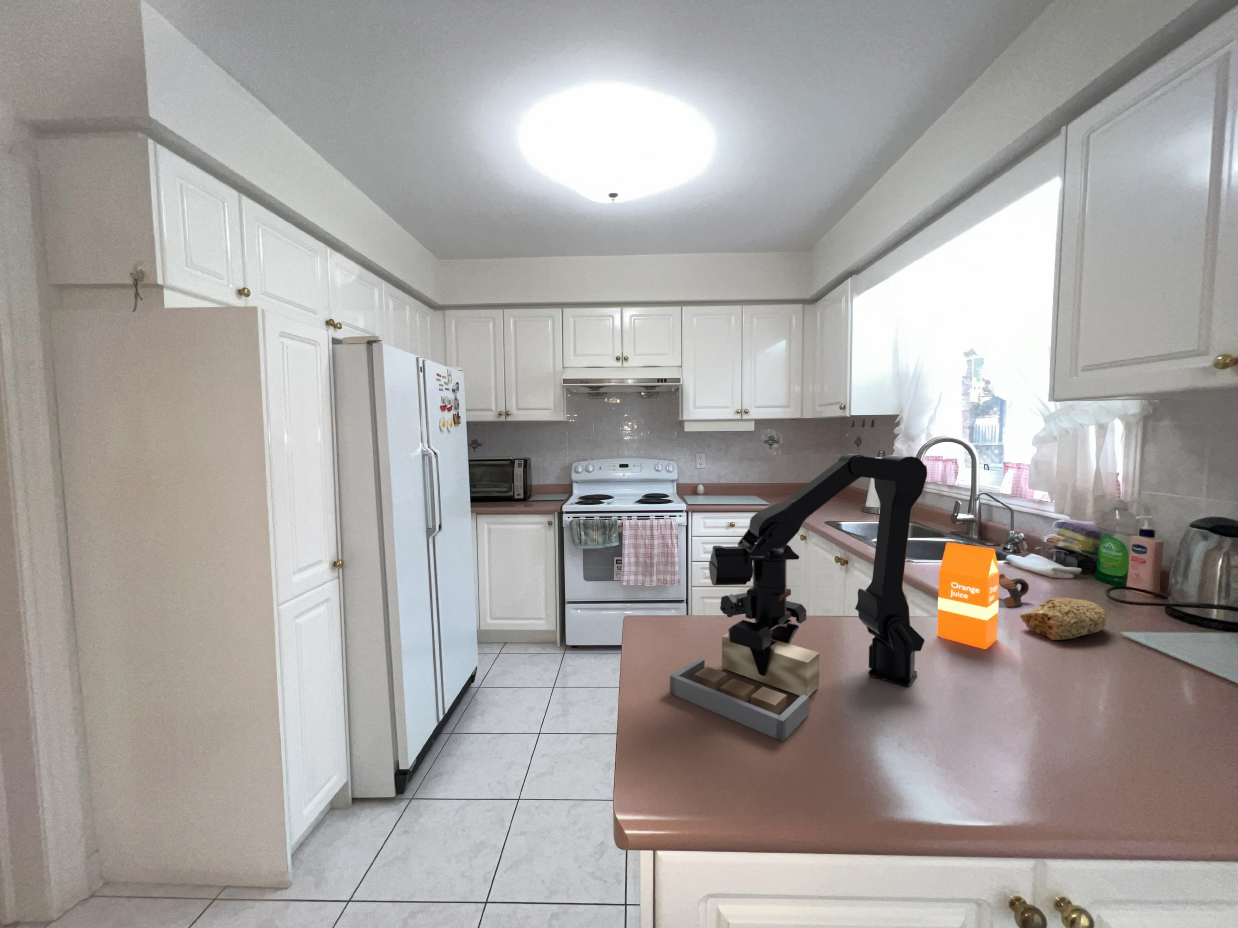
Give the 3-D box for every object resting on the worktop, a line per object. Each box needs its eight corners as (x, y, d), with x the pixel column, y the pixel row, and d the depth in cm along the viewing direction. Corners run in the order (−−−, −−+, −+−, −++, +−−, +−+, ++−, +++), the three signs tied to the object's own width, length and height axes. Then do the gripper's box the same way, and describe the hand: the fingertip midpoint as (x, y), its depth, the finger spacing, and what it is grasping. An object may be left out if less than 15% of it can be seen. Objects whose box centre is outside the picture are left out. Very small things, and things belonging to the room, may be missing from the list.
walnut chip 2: (786, 713, 78) (786, 694, 78) (775, 724, 75) (775, 705, 75) (762, 704, 81) (762, 686, 80) (750, 714, 78) (751, 695, 78)
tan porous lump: (1071, 653, 101) (1139, 624, 106) (1059, 615, 102) (1127, 587, 106) (1008, 640, 114) (1071, 614, 119) (997, 606, 114) (1061, 582, 119)
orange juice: (985, 649, 100) (989, 551, 99) (936, 636, 107) (939, 544, 106) (997, 639, 105) (1000, 546, 104) (949, 627, 112) (952, 539, 111)
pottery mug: (998, 610, 124) (981, 578, 127) (978, 615, 132) (962, 584, 136) (1046, 598, 124) (1027, 566, 127) (1022, 603, 132) (1005, 573, 136)
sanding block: (818, 686, 85) (819, 652, 85) (807, 698, 82) (807, 662, 81) (735, 658, 96) (735, 628, 96) (722, 667, 92) (722, 636, 92)
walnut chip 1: (727, 690, 85) (727, 673, 85) (714, 699, 82) (714, 681, 82) (707, 682, 88) (707, 666, 88) (694, 691, 85) (694, 674, 85)
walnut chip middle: (754, 704, 81) (754, 686, 80) (742, 714, 78) (742, 695, 78) (732, 695, 83) (732, 678, 83) (720, 705, 80) (720, 687, 80)
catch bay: (808, 715, 77) (808, 696, 77) (783, 741, 70) (783, 720, 70) (699, 674, 91) (699, 658, 90) (670, 692, 84) (670, 675, 84)
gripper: (753, 565, 100) (753, 641, 101) (701, 586, 86) (701, 674, 87) (807, 575, 93) (807, 657, 93) (761, 600, 79) (760, 695, 80)
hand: (769, 669), depth 89 cm, fingers closed on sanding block, 5 cm apart
